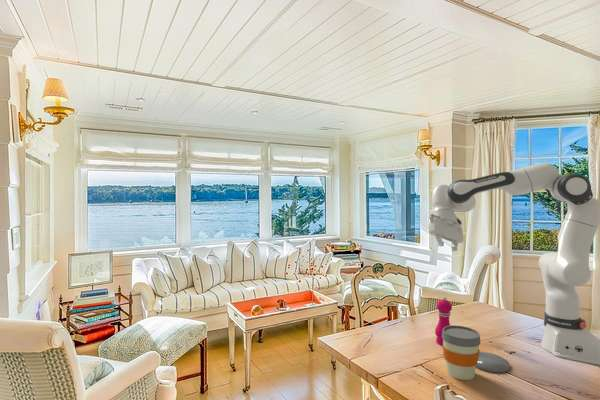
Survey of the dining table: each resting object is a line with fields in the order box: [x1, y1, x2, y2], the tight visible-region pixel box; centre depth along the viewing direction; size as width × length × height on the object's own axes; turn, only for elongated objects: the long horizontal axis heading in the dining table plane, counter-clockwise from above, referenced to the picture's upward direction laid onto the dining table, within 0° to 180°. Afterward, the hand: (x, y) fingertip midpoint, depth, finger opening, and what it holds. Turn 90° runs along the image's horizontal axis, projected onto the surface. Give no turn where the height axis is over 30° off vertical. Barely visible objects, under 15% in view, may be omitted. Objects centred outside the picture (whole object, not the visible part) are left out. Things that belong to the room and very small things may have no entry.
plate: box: [476, 351, 511, 374], centre depth 133 cm, size 14×14×1 cm
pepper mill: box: [434, 296, 453, 347], centre depth 151 cm, size 7×7×20 cm
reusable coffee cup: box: [442, 324, 481, 381], centre depth 126 cm, size 12×13×15 cm
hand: (448, 248), depth 154 cm, fingers open, 8 cm apart
